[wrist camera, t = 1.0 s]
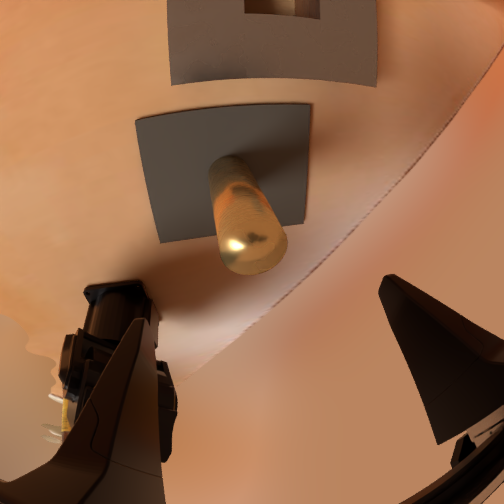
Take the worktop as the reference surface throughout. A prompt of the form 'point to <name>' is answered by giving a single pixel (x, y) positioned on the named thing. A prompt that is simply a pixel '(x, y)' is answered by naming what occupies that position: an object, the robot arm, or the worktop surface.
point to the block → (273, 41)
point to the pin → (244, 219)
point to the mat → (218, 145)
